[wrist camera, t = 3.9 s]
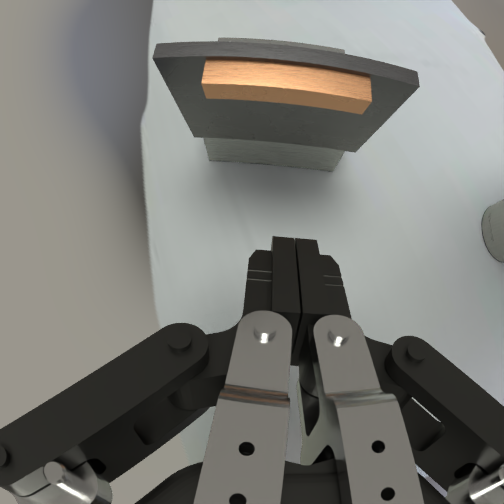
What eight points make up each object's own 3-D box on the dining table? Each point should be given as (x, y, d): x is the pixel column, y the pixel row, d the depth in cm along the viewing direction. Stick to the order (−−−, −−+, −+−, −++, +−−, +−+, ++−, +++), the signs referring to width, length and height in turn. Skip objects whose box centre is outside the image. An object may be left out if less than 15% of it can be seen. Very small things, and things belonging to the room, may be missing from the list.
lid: (417, 71, 16) (422, 110, 16) (355, 141, 31) (355, 168, 31) (156, 43, 16) (146, 81, 16) (195, 126, 31) (191, 153, 31)
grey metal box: (330, 90, 42) (344, 49, 33) (333, 171, 40) (352, 137, 31) (223, 80, 42) (218, 37, 33) (209, 160, 40) (199, 122, 31)
